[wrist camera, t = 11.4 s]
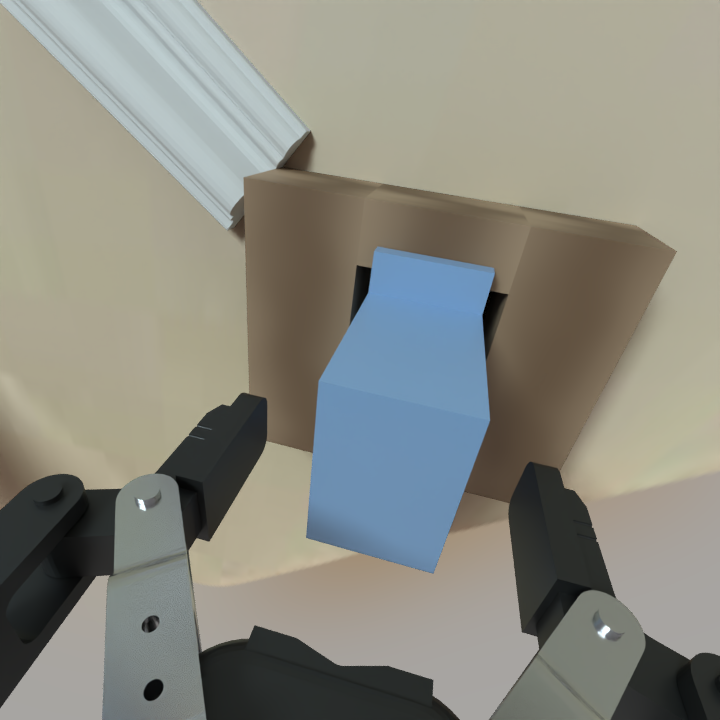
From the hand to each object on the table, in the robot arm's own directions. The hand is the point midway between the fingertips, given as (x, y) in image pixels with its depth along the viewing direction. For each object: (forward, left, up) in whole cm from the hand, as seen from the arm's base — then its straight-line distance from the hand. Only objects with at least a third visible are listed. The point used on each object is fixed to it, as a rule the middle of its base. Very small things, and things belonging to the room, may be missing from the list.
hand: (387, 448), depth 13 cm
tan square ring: (0, 0, -8) cm, 8 cm away
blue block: (0, 0, -8) cm, 8 cm away
